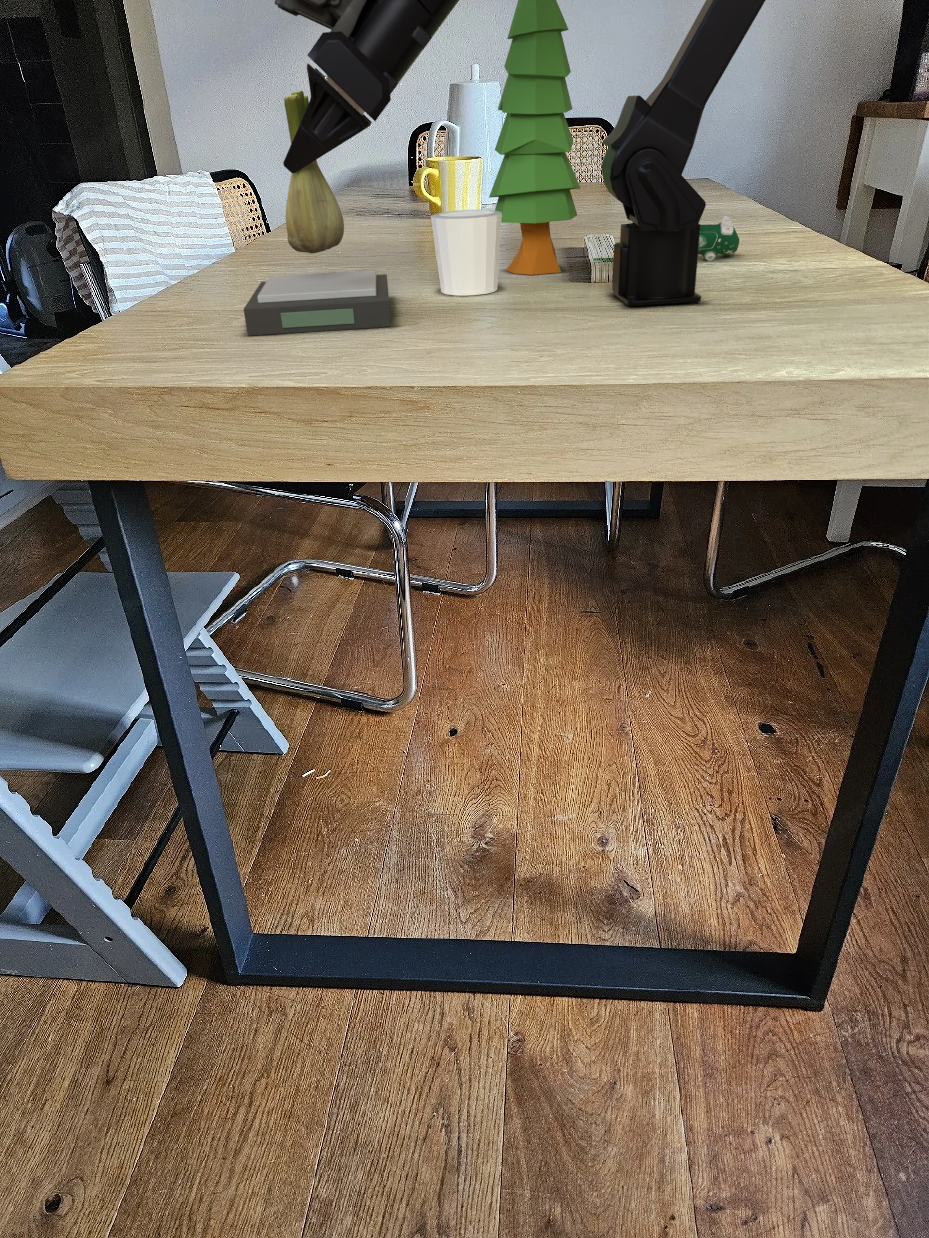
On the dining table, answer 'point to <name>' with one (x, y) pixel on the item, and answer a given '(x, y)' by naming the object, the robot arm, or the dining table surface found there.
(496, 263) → the white cup
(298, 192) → the fennel bulb
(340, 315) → the kitchen scale
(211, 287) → the dining table surface
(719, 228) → the green toy car
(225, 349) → the dining table surface
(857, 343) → the dining table surface
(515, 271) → the decorative tree
